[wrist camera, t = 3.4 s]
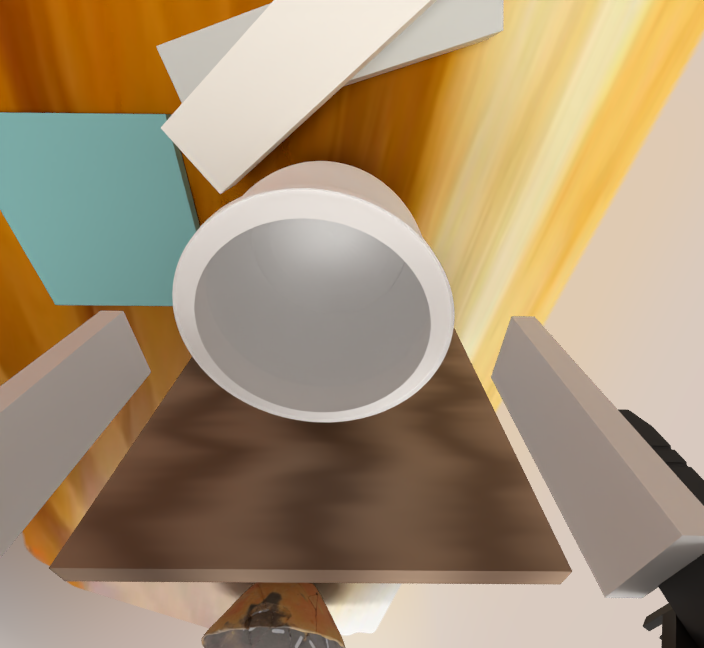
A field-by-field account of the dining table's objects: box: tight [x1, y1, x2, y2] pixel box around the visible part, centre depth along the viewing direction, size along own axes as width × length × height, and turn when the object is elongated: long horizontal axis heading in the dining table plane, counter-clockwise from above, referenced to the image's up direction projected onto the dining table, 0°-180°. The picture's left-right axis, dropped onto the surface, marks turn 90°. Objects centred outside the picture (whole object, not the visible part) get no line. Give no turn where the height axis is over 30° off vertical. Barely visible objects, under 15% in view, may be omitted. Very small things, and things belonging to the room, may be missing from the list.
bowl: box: [202, 582, 345, 648], centre depth 59 cm, size 25×25×10 cm
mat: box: [0, 113, 200, 306], centre depth 24 cm, size 14×14×1 cm
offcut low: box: [156, 0, 503, 103], centre depth 18 cm, size 18×4×3 cm, turn 104°
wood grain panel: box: [49, 328, 572, 584], centre depth 22 cm, size 19×7×20 cm, turn 90°
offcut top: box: [161, 0, 437, 194], centre depth 16 cm, size 18×4×3 cm, turn 126°
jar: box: [172, 161, 454, 422], centre depth 18 cm, size 11×10×15 cm
